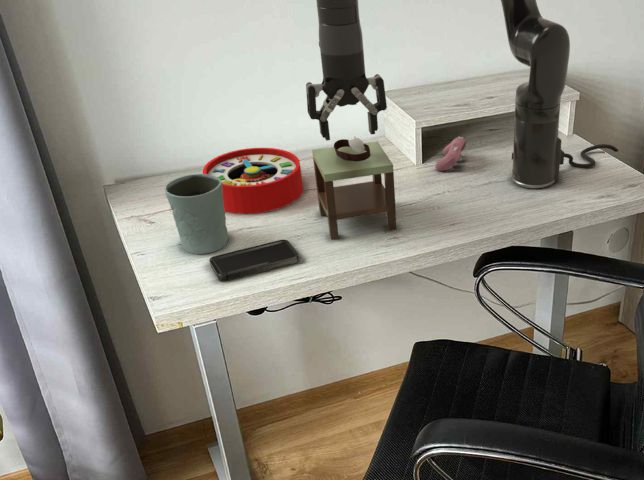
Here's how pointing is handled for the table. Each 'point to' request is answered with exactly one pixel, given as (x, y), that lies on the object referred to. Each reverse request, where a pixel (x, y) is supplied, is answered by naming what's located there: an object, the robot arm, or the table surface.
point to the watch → (356, 146)
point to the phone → (253, 260)
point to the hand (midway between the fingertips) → (349, 135)
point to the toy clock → (257, 179)
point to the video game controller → (451, 154)
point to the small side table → (354, 186)
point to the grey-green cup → (198, 212)
